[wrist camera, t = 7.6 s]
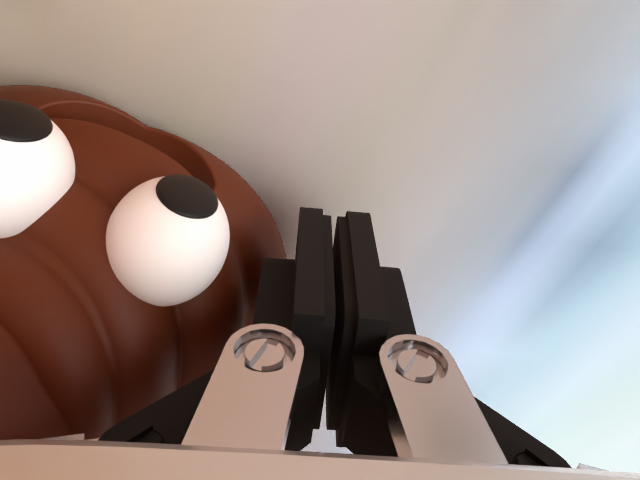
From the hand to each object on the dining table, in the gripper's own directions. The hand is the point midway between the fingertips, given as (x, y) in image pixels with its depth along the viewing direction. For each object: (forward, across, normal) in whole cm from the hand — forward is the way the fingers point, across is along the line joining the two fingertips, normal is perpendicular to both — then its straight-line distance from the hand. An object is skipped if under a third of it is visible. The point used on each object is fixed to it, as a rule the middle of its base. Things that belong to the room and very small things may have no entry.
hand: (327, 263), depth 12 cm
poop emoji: (+2, +6, +1) cm, 6 cm away
